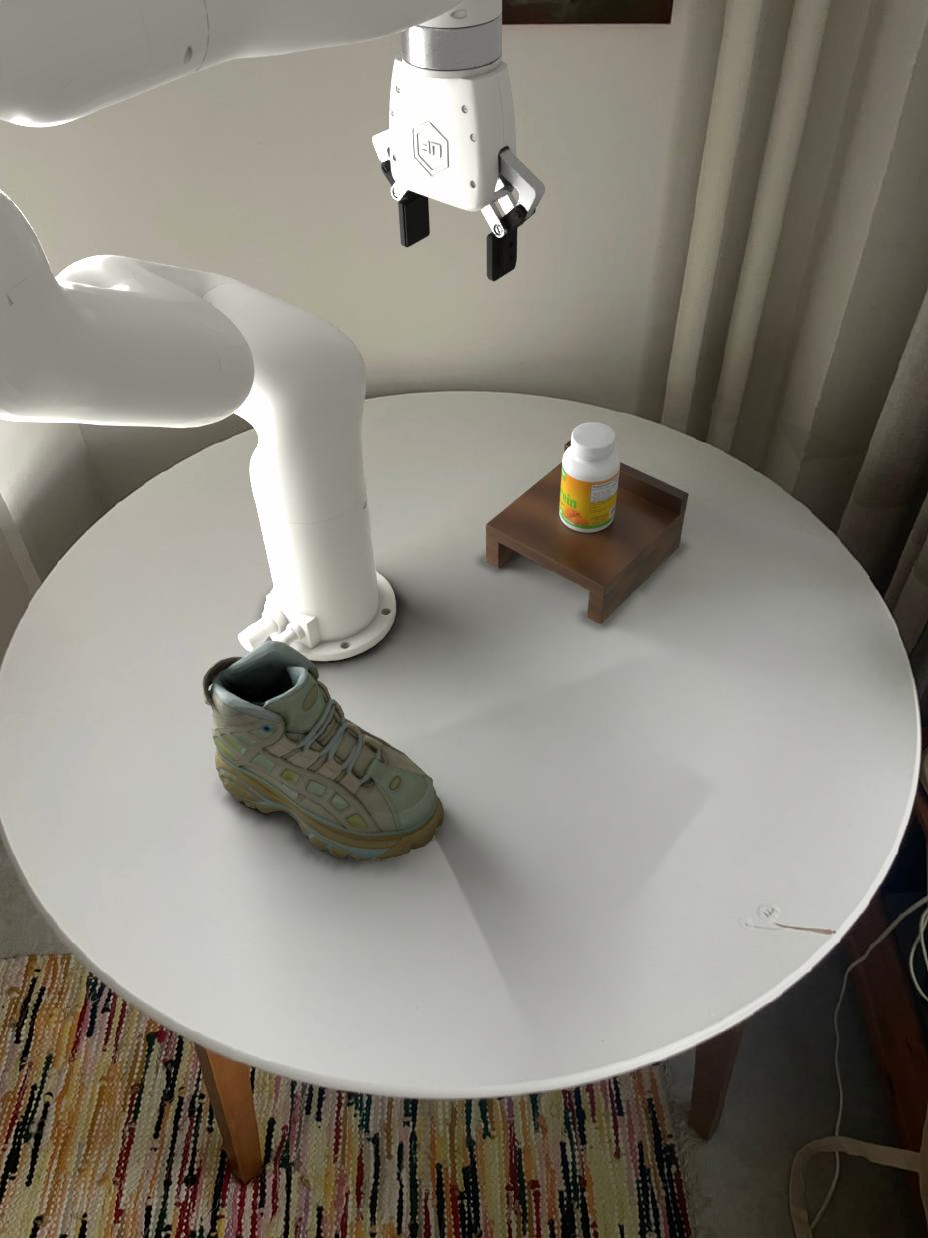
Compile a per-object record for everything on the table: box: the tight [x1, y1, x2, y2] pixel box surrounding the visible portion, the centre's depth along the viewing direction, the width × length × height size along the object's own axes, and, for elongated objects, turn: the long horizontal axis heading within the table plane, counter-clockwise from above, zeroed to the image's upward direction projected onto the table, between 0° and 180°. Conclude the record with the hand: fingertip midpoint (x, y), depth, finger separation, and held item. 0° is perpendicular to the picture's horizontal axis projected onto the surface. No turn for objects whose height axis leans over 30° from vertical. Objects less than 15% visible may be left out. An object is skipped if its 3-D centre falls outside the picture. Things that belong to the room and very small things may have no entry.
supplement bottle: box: [559, 421, 621, 533], centre depth 97 cm, size 5×5×10 cm
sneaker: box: [201, 639, 445, 862], centre depth 79 cm, size 11×19×15 cm, turn 53°
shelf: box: [485, 439, 689, 625], centre depth 101 cm, size 14×14×7 cm
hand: (457, 257), depth 89 cm, fingers open, 9 cm apart
